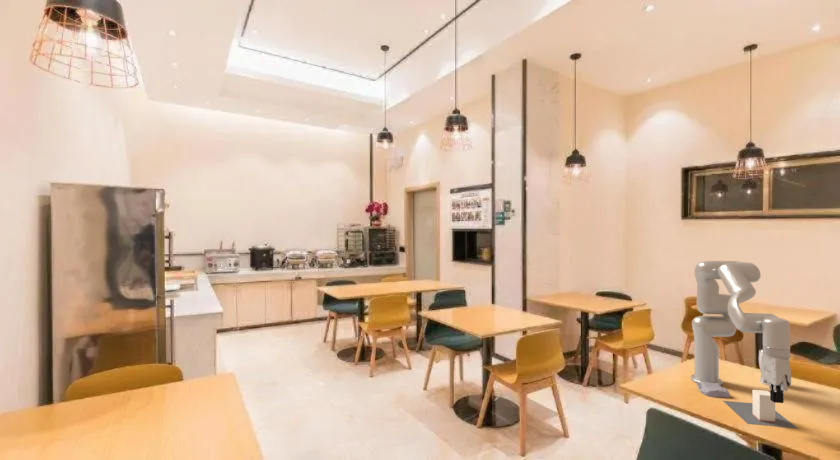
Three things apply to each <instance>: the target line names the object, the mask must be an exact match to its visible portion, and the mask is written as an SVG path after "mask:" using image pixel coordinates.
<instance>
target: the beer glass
mask: <svg viewBox="0 0 840 460" xmlns="http://www.w3.org/2000/svg"><path fill="white" fill-rule="evenodd" d="M762 355H763V349H759V350H758V366H759V371H760V372H761V362H762ZM759 382H760V383H761V384H763V385H767V386H769V382H768V381H767V380H765V379H764V378H762V376H761V375H760V378H759Z"/></svg>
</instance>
